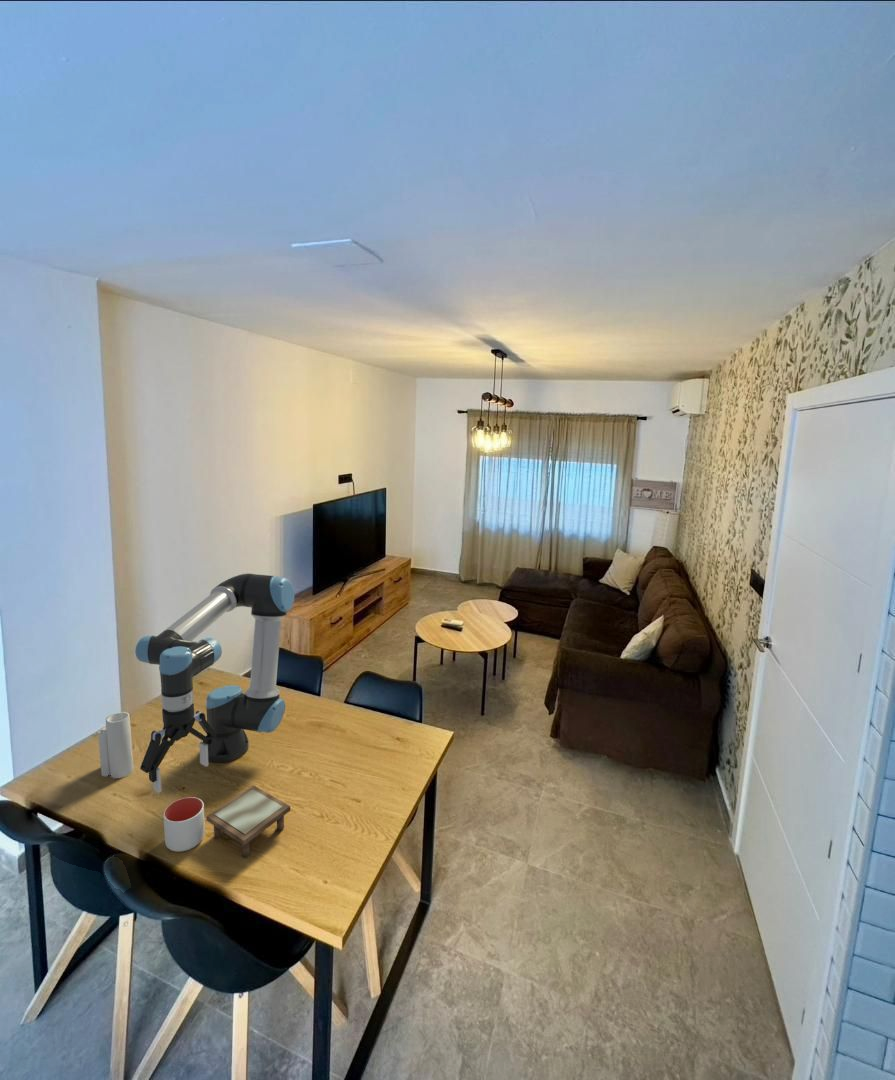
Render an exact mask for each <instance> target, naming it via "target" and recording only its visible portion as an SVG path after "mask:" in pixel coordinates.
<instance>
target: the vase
mask: <svg viewBox="0 0 895 1080" xmlns="http://www.w3.org/2000/svg"><path fill="white" fill-rule="evenodd" d="M130 717H131V716H130V713H129V712H127V711H120V712H114V713H113V714H110V715H109V716H107V717H106V718H105V726H103V727H102V728H101V729H100V730H98V731H97V737H98V738H97V739H98V749H99V750H98V751H99V758H100V759H99V761H100V772H101V776H102V777H109V776H110V775H111V776H110V778H112V777H113V778H112V779H115V778H119V779H123V778H126V777H128V776H129V774H130V775H131V774H132V773H133V772H134V770H133V769H134V758H133V744H132V730H131V719H130ZM132 771H133V772H132ZM108 775H109V776H108Z"/></svg>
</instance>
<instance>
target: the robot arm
mask: <svg viewBox="0 0 895 1080" xmlns="http://www.w3.org/2000/svg"><path fill="white" fill-rule="evenodd" d="M294 602H295V589H294V586H293V583H292V582H291V581H290V580H289V579H288V578H286V577H282V576H278V575H269V574H256V573H248V572H247V573H241V574H238V575H235V576H232V577H229V578H228V579H225V580H224V581H222V582H220V583H219V584H218V585H216V586H215V587H214V588H212V589H211V591H210V593H209V595H208V596H207V597H205V598H204V599H203V600H201V601H200V602H199V603H198V604H196V605H195V606H194V607H192V608H191V609H190V610H188V611H187V612H186V613H185V614H184V615H182V616H180V618H178V619H177V620H176V621H175V622H173V623H171V625H170V626H168V627H167V628H165V629H164V630H163V631H162V632H161V633H159V634H158V635H156V636H155V635H146V636H143V637H141V638H140V639H139V641H137V644H136V646H135V649H134V650H135V656H136V659H137V660H138V661H139V662H142V663H145V664H150V665H156V666H157V665H158V667H159V668H158V670H159V676H160V677H159V678H160V691H161V692H160V694H161V695H160V696H161V708H162V709H161V712H162V713H161V714H162V722H163V723H162V724H163V727H162V729H161V730H158V731H156V730H153V731H151V733H150V740H149V741H150V742H149V744H148V746H147V749H146V751H145V754H144V757H143V759H142V762H141V765H140V767H139V770H141V771H142V772H144V773H145V774H148V779H149V781H150V782H152V790H153V791H155V793H158V794H160V793H162V777H161V776H162V775H161V769H160V768H159V767H160V765H161V764H162V762H163V760H164V758H165V756H166V755H167V753H168V752H169V750H170V748H171V747H172V746H173V745H174V744H175V742H178V741H180V740H181V739H182V738H186V737H188V735H189V734H191V735H193V736H194V737H196V738H198V739H199V740H201V741H200V742H199V744H198V746H199V763H200V764H201V765H202V766H203V767H209V762H211V763H228V762H231V761H234V760H237V759H238V758H241V757H242V756H244V755H245V754H246V753H247V752H248V750H249V747H250V746H249V744H250V742H249V737H248V735H247V734H246V731H252V732H257V733H267V734H270V733H273V732H274V731H276V729H277V728H278V727H279V726H280V724H281V722H282V720H283V718H284V714H285V711H286V702H285V700H284V699H283V698H281V696H280V693H281V691H280V689H278V688H277V677H278V664H279V652H280V641H281V640H280V639H281V627H282V620H283V619H284V618H285V617H286V616H287V612H289V611H291V609H292V608H293V606H294V605H293V604H294ZM239 607H244V608H245V607H247V608H250V609H251V611H250V613H251V616H252V617H253V618H254V631H253V632H254V633H253V643H252V646H253V647H252V658H251V667H250V668H251V669H250V680H249V681H250V682H249V687H248V688H247V689H246V690H245V691H244V693H243V689H242V687H241V686H239V685H236V684H234V685H232V684H231V685H225V686H220V687H218V688H216V689H214V690H212V691H211V692H210V693H208V694H207V696H206V701H205V702H206V703H205V710H206V714H205V712H202V711H200V710H196V711H195V702H194V682H193V681H194V680H193V679H194V678H195V677H196V676H197V675H199V674H200V673H202V672H203V671H205V670H206V669H208V668H209V667H212V666H213V665H214V664H215V663H216V662H217V661H218V660H219V659H220V658H221V657H222V651H223V650H222V646H221V644H220V642H219V641H218V640H216V639H215V638H212V637H206V638H203V639H200V640H199V641H193V640H195V639H196V638H197V637H199V635H201V634H202V633H203V632H204V631H206V630H207V628H208V627H210V626H211V625H212V624H213V623H215V622H216V621H217V620H218V619H219V618H221V617H222V616H223V615H224V614H225V613H226V612H227V613H229V612H231V611H234V610H235V609H236V608H239ZM196 722H198V724H199V726H200V727H201V728H202V729H203V731H204V732H205V734H206V735H204V734H203V733H201V732H199V730H197V729H195V728H194V724H195V723H196ZM168 739H169V740H168Z"/></svg>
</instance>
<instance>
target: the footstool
mask: <svg viewBox="0 0 895 1080" xmlns="http://www.w3.org/2000/svg"><path fill="white" fill-rule="evenodd" d="M290 812H291V805H289V804H288V803H286V802H284V801H282V800H280V799H278V798H277V797H275V796H273V795H271V794H270V793H269V792H266V791H264V790H262V789H261V788H259V787H257V786H256V785H251V786H250V787H249V788H247V789H246V790H244V791H242V792H241V793H239V794H238V795H236V796H234V797H233V798H232V799H230V800H229V801H227V802H226V803H224V804H222V805H220V807H218V808H216V809H215V810H212V811H211V812H210V813H208V814H207V815H206V821H207V822H208V823H210V824H211V825H213V838H214V839H217V840H218V839H220V838H221V837H222V836H223V833H225V834H226V835H228V836H229V837H231V838H232V839H234V840H235V841H236V842H238V843H240V844H241V857H242V858H243V859H247V858H249V857H250V855H251V850H250V849H251V848H250V847H251V846H250V841H252V840H253V839H255V838H256V837H257V836H259V835H260V834H261V833H263V832H264V831H265V830H266V829H268V828H270V826H272V825H273V824H275V823H276V830H277V831H278V832H280V831H283V830H284V829H285V815H286V814H288V813H290Z"/></svg>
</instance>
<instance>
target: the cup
mask: <svg viewBox="0 0 895 1080" xmlns="http://www.w3.org/2000/svg"><path fill="white" fill-rule="evenodd" d="M205 822H206V820H205V804H204V802H203V799H200V798H199V797H194V796H191V797H189V796H188V797H183V798H180V799H177V800H175V801H173V802H171V803H170V804H169V805H168V806H167V807H166V808H165V809H164V811H163V829H164V843H165V845H166V848H167V849H169V850H170V851H173V852H185V851H189V850H192V849H194V848H195V847H196V846H198V845H199V844H200V843H201V842H202V841H203V839H204V837H205V834H206V828H205V827H206V824H205Z"/></svg>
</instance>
